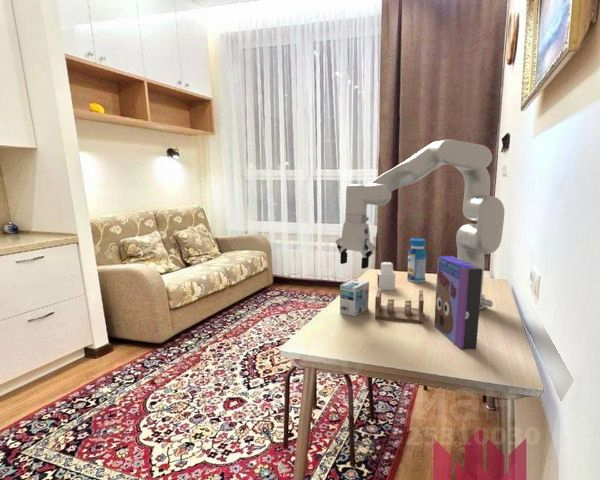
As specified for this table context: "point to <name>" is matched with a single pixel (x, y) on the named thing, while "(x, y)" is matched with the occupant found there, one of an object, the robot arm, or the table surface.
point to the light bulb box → (354, 297)
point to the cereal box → (458, 301)
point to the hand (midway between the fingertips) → (353, 265)
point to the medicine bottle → (386, 276)
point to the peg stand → (399, 310)
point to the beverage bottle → (417, 260)
